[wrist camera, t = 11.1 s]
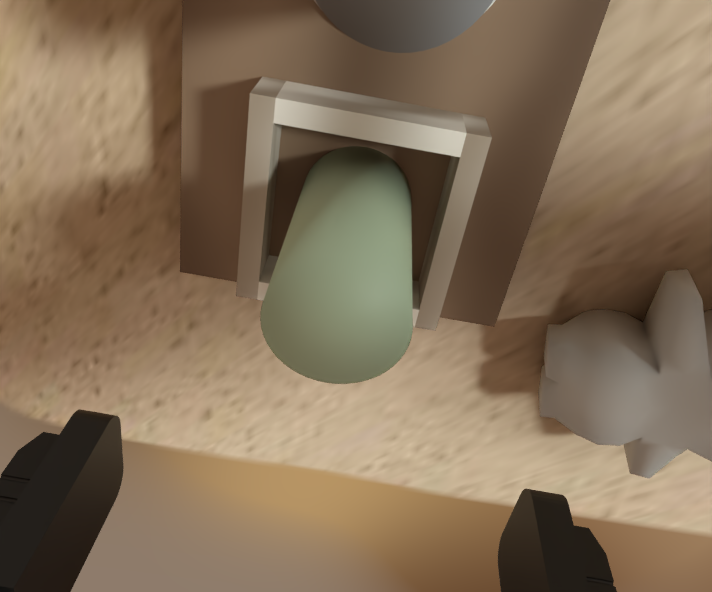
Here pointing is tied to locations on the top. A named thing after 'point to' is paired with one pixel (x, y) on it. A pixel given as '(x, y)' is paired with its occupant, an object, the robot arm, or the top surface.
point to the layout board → (378, 128)
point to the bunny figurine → (636, 377)
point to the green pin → (344, 271)
